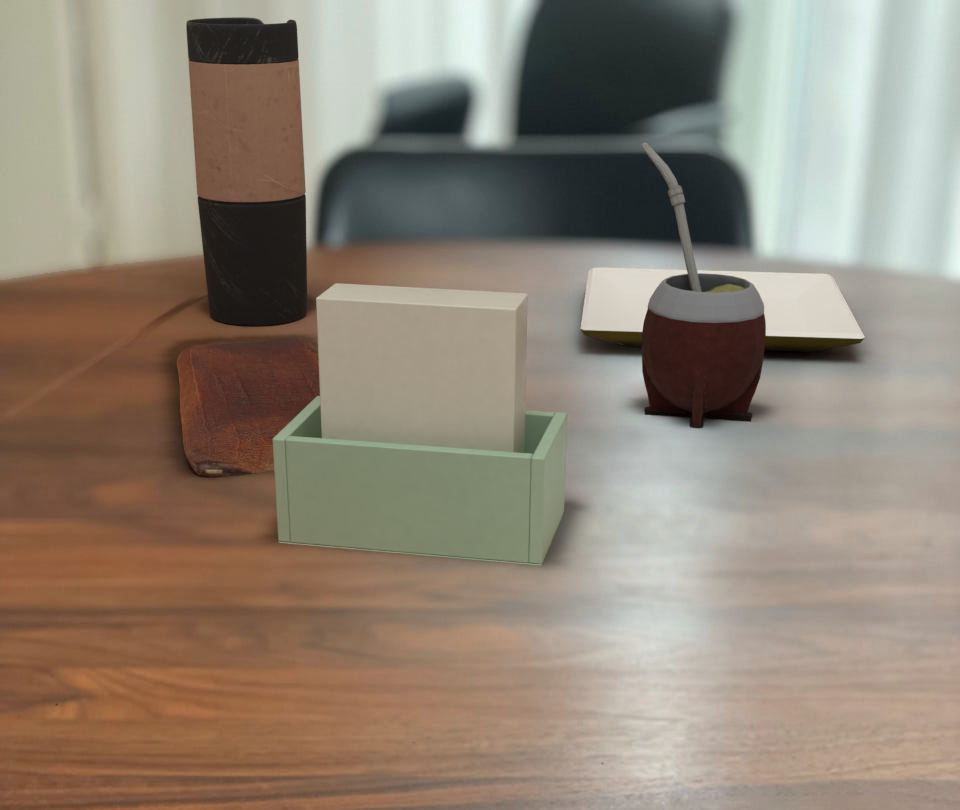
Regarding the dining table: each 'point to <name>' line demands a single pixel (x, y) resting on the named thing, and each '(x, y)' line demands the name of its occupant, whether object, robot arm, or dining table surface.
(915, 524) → the dining table surface
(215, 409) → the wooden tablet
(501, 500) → the bin
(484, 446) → the rectangular block
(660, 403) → the mate gourd
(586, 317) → the plate
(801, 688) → the dining table surface
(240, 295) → the travel mug
